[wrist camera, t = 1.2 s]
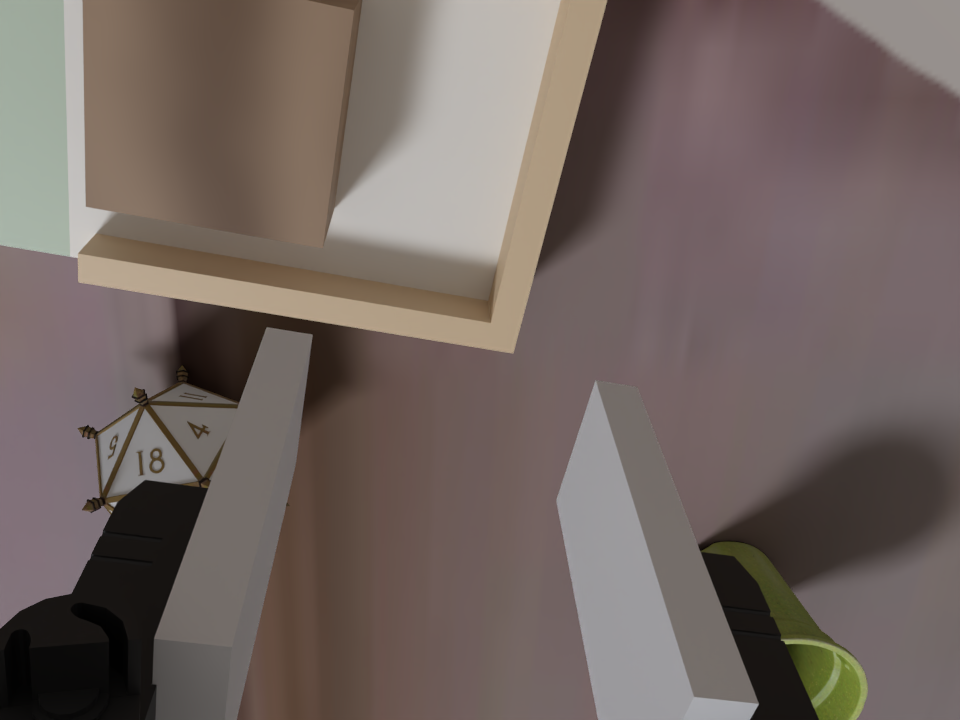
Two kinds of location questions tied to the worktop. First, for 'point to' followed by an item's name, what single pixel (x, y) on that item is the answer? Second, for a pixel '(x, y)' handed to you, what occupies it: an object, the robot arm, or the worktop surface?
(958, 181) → the worktop surface
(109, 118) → the walnut block
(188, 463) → the game die
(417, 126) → the deck
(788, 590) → the plant pot
